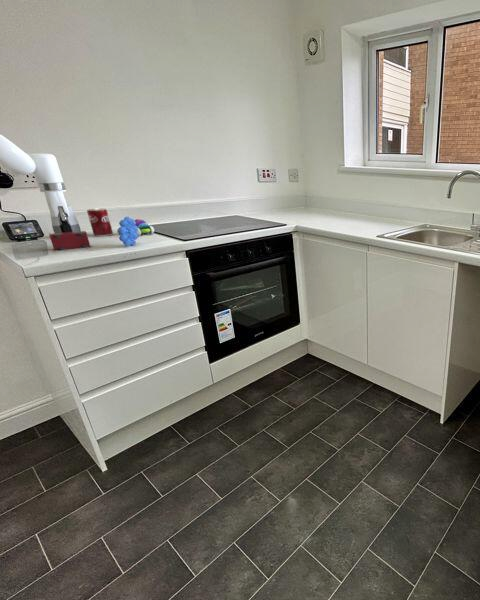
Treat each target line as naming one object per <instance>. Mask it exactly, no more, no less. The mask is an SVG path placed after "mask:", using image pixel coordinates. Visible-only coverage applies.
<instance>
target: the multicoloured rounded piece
mask: <svg viewBox="0 0 480 600" xmlns="http://www.w3.org/2000/svg"><path fill="white" fill-rule="evenodd" d="M134 220H135V222H136V224H135V226H137V227H138V231H137V232H135V233H136V234H137V235H138V237H140V236H141V235H142V234H145V233H146V234H150V235H152V234H154V233H155V228H154V226H152V225H150V224H148V223H147V222H146V221H145V220H144V219H141V218H140V219H139V218H136V219H134Z"/></svg>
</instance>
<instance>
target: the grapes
mask: <svg viewBox="0 0 480 600" xmlns="http://www.w3.org/2000/svg"><path fill="white" fill-rule="evenodd" d="M135 220H136V219H133V218H131V217H129V216H125V217H124V218H123V219H121V220H120V221H119V223H118V224H119V227H118V229H117V231H116V232H117V233H118V235H119V237H118V239H119V241H121V242H122V244H123V245H124V246H125V247H129V246H134V245H135V244H136V242H137V241H136V240H138V238H139V236H138V235H137V234H136V233H135V232H137V231H138V227H137V226H135V224H136V222H135Z"/></svg>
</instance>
